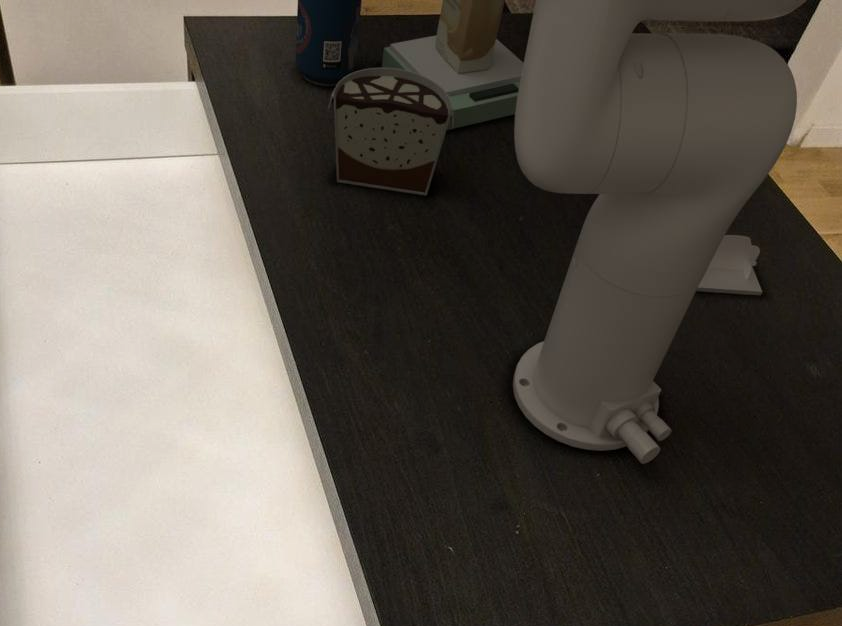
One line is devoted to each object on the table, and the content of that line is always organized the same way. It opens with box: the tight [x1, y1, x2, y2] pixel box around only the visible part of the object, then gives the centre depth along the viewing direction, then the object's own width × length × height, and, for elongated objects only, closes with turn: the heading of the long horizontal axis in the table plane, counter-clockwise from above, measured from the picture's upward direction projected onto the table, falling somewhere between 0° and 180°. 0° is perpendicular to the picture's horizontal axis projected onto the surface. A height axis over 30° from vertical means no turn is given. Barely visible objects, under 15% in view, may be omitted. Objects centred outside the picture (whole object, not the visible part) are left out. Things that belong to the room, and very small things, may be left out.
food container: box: [326, 67, 455, 196], centre depth 96 cm, size 12×6×10 cm, turn 84°
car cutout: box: [696, 234, 763, 296], centre depth 93 cm, size 15×7×4 cm, turn 92°
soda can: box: [295, 0, 362, 87], centre depth 105 cm, size 7×7×12 cm
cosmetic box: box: [435, 0, 506, 73], centre depth 105 cm, size 6×4×12 cm
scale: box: [381, 34, 524, 131], centre depth 110 cm, size 14×14×3 cm
